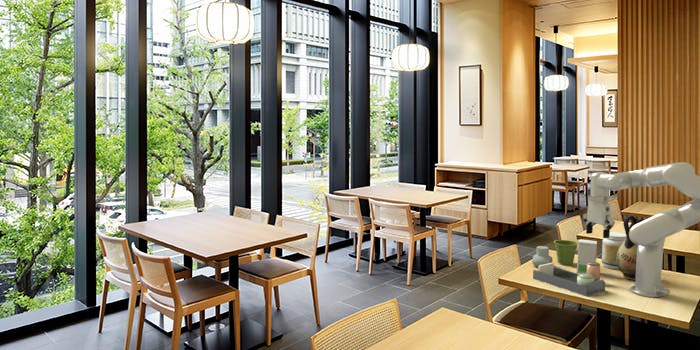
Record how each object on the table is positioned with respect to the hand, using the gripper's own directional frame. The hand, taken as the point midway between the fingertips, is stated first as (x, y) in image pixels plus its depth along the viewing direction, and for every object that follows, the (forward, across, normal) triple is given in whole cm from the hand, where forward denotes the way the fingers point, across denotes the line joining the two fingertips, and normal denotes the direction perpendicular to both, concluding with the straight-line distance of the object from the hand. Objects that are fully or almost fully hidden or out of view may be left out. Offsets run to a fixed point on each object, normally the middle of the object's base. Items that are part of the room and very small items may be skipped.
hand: (597, 235), depth 231 cm
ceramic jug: (+21, -4, -18) cm, 28 cm away
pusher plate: (+21, +14, +19) cm, 31 cm away
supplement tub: (+21, +12, -25) cm, 35 cm away
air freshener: (+22, +27, +8) cm, 35 cm away
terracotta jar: (+21, -2, +4) cm, 22 cm away
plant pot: (+22, +26, -7) cm, 34 cm away
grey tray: (+21, 0, +17) cm, 27 cm away
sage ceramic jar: (+21, -9, +15) cm, 28 cm away
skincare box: (+21, +11, -5) cm, 24 cm away
